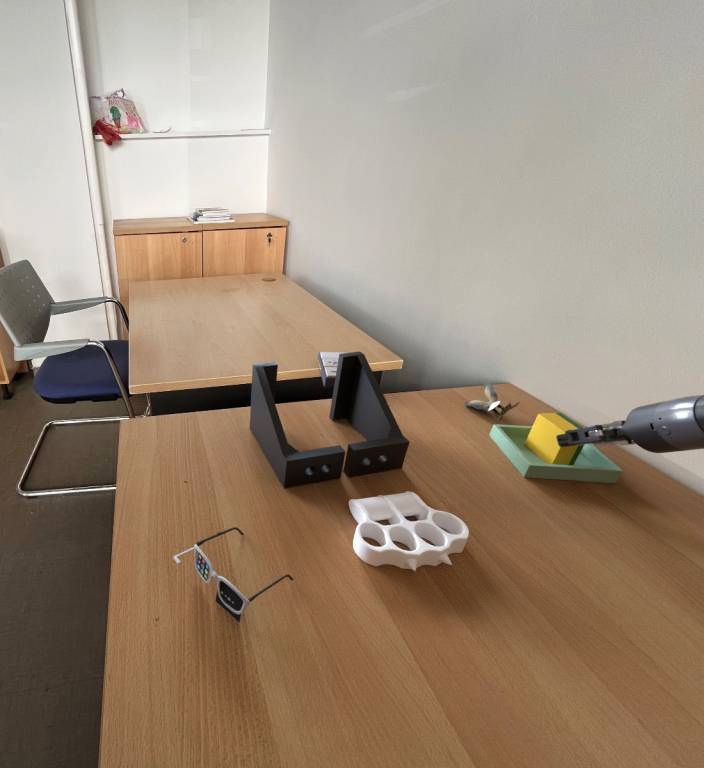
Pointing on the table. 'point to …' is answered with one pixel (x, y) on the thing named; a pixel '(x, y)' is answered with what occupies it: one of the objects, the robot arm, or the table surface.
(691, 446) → the robot arm
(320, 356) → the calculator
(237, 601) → the smart glasses
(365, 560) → the white brass knuckles
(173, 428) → the table surface
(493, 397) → the eagle figurine
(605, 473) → the tray
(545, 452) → the sponge
